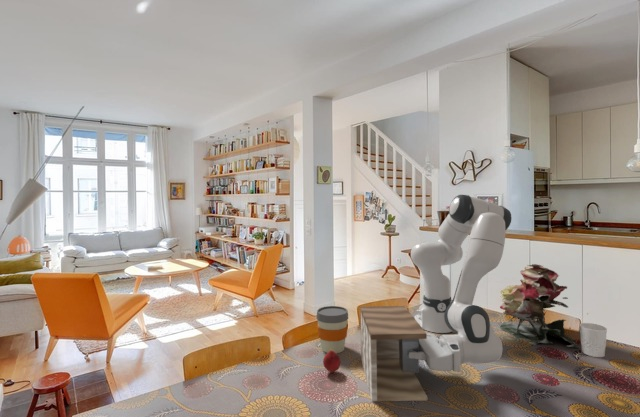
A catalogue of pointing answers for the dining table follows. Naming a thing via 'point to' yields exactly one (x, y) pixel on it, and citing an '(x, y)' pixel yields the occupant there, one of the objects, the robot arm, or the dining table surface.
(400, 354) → the tea tin
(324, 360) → the red rounded piece
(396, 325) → the wooden cubby shelf
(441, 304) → the robot arm
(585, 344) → the white cup
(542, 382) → the dining table surface
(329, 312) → the reusable coffee cup
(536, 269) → the rose bouquet
